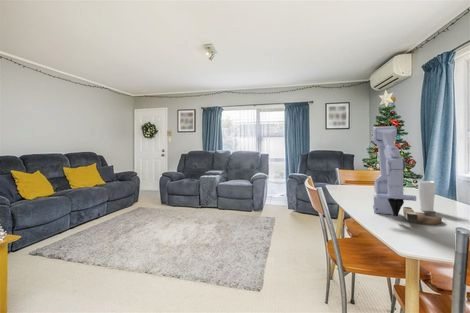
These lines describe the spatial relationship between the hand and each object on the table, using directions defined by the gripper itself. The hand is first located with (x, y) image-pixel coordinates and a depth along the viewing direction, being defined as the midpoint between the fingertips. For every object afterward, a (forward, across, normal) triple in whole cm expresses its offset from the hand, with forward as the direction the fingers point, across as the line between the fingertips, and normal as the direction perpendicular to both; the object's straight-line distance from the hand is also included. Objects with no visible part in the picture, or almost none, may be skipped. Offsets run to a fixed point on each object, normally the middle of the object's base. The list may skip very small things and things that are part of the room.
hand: (395, 215), depth 104 cm
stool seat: (+3, +11, +7) cm, 14 cm away
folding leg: (+1, +6, +2) cm, 6 cm away
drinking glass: (+3, +18, +26) cm, 32 cm away
